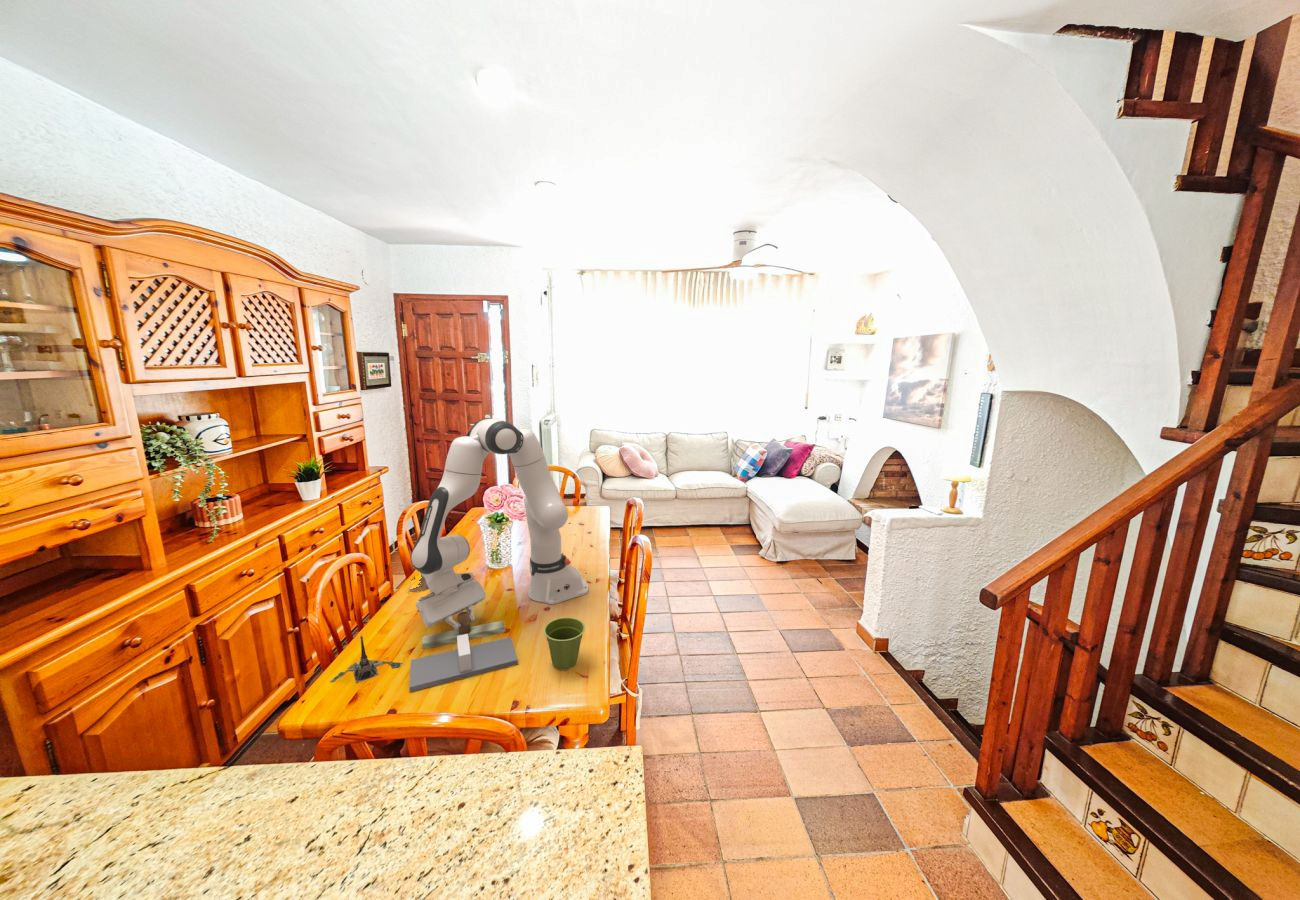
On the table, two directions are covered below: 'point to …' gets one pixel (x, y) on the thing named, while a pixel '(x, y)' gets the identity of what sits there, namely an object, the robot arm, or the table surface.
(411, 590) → the wooden fragment
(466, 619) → the balance beam
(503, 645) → the stand
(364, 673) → the eiffel tower figurine
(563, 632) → the plant pot
